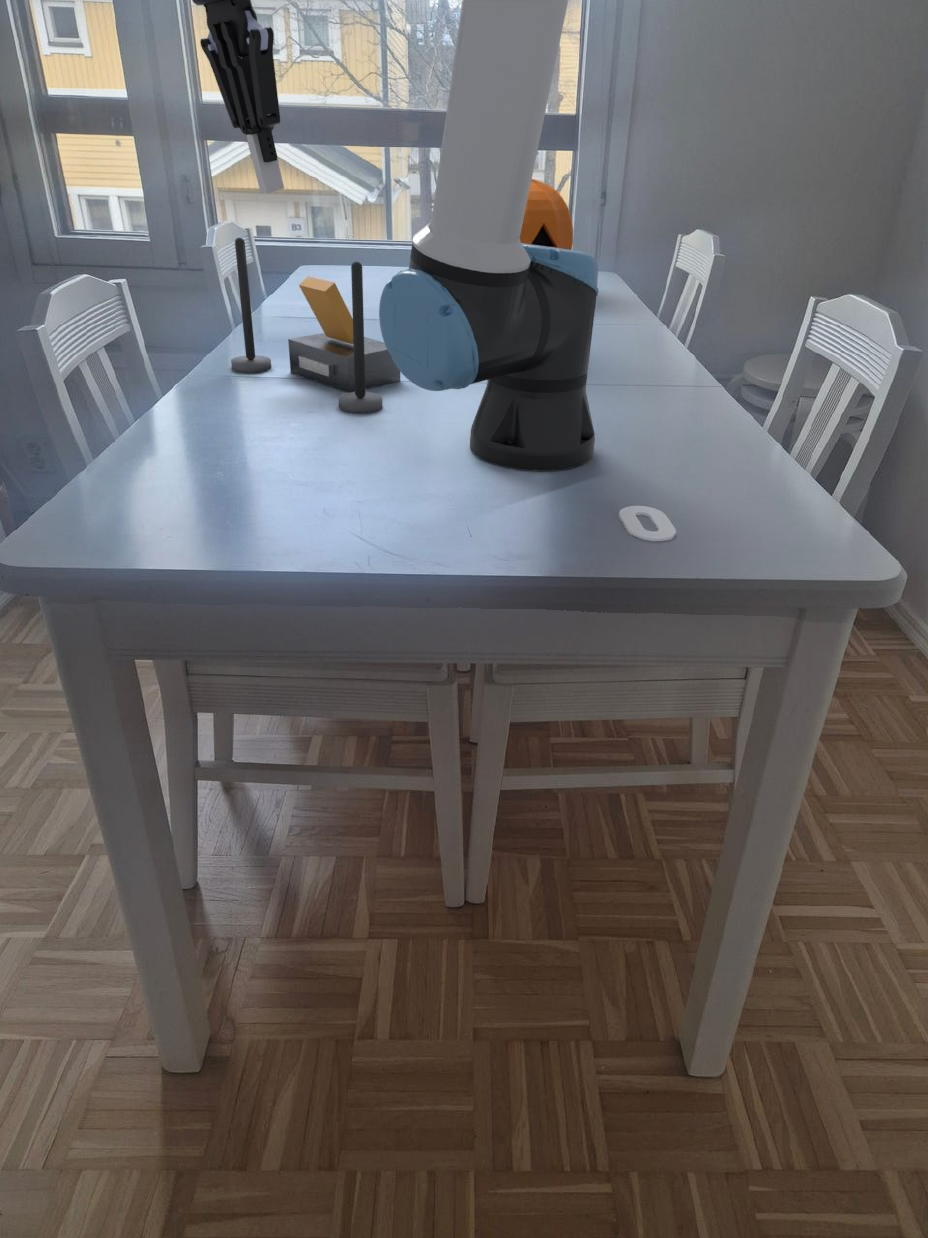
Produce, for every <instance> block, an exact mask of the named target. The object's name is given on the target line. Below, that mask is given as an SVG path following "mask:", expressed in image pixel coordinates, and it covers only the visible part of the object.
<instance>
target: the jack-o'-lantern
mask: <svg viewBox="0 0 928 1238" xmlns="http://www.w3.org/2000/svg"><path fill="white" fill-rule="evenodd" d="M573 226H574V225H573V219H572V215H571V212H570V210H569V207H568V204H567V203H566V202H565V200H564V198H563V196H562V195H561V194H560V193H559V192H558V191H557V190H556V189H555V188H553V187H551V186H550V185H548V184H547V183H545V182H542V181H540V180H537V179H535V178H532V180H531V185H530V190H529V195H528V199H527V204H526V209H525V214H524V219H523V224H522V229H521V234H520V242H521V243H524V244H532V245H539V246H547V247H554V248H560V249H567V250H572V249H573V244H574V227H573Z"/></svg>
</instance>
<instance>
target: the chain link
mask: <svg viewBox="0 0 928 1238" xmlns="http://www.w3.org/2000/svg"><path fill="white" fill-rule="evenodd" d="M637 514H646V515H649V517H650V518H651V519H652V521H653V523H654V524H655V525H656V527H657V528H658V530H656V531H653V530H652V531H651V530H648V529H645V527H644V526H643V525H642V523H641V521H640V520H639V518H638V517H637V516H636V515H637ZM649 517H648V518H649ZM618 518H620V519H621V520H620V519H619V520H620V522H621V521H622V522H623V524H624V525H623V524H622V525H623V527H624V526H625V527H624V528H626V529H627V530H628V531H629V532H630V533H632V534H634V535H636V536H639V537H643V538H649V539H656V540H657V539H666V538H670V537H672V536H674V535H675V534H677V530H676V528H675V526H674V525H673V524H672V522H671V521H670V519H669V517H668V516H667V514H665V512H663V511H661V510H659V509H658V508H653V507H651V506H645V505H630V506H625V507H623V508H622V509H620V510H619V512H618ZM650 518H649V519H650ZM652 521H651V522H652ZM622 522H621V523H622ZM653 523H652V524H653ZM654 524H653V525H654ZM656 527H655V528H656ZM626 529H625V530H626ZM627 530H626V531H627ZM675 536H676V535H675Z"/></svg>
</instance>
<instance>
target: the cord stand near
mask: <svg viewBox="0 0 928 1238" xmlns="http://www.w3.org/2000/svg"><path fill="white" fill-rule="evenodd" d="M350 266H351V267H350V270H351V271H350V273H351V275H350V276H351V305H352V306H351V307H352V318H353V342H354V374H355V392H350V393H348V392H345V393H342V394H341V395H339V396H338V397H337V399H338V402H337V403H338V408H339V410H341V411H342V412H344V413H347V414H348V413H349V414H357V415H360V414H361V415H363V414H372V413H376V412H379V411H381V410H383V396H381V395H380V394H377V393H374V392H370V391H369V392H368V391H366V389H365V356H364V337H365V329H364V328H365V326H364V325H365V322H364V319H365V318H364V289H363V288H364V283H363V278H364V275H363V265H362V263H361V262H360V261H353V262H352V263H351V265H350Z"/></svg>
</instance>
